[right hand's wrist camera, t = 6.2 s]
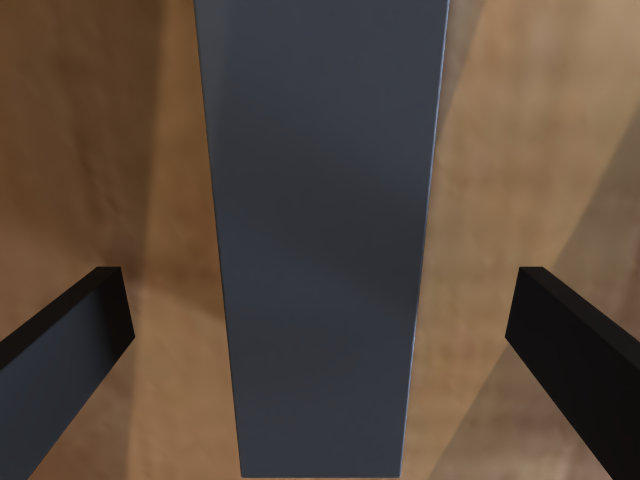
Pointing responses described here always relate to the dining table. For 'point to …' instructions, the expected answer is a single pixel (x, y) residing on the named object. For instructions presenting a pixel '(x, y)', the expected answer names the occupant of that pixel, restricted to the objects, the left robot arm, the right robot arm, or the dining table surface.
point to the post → (321, 220)
